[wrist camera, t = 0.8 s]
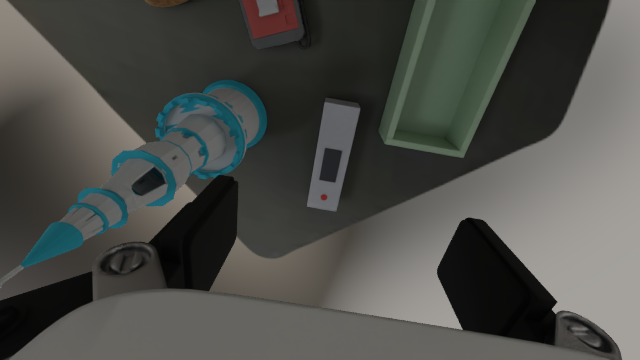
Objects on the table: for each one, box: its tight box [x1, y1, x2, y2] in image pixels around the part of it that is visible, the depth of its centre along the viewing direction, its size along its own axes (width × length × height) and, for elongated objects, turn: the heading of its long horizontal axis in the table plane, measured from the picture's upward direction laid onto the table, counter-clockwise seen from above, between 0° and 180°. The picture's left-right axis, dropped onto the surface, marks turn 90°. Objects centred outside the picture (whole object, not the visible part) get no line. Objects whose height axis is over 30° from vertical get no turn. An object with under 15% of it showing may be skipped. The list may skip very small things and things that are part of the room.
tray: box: [378, 0, 536, 158], centre depth 30 cm, size 21×10×6 cm, turn 171°
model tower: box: [0, 80, 267, 288], centre depth 24 cm, size 10×10×30 cm
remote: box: [307, 97, 360, 211], centre depth 38 cm, size 16×5×3 cm, turn 171°
